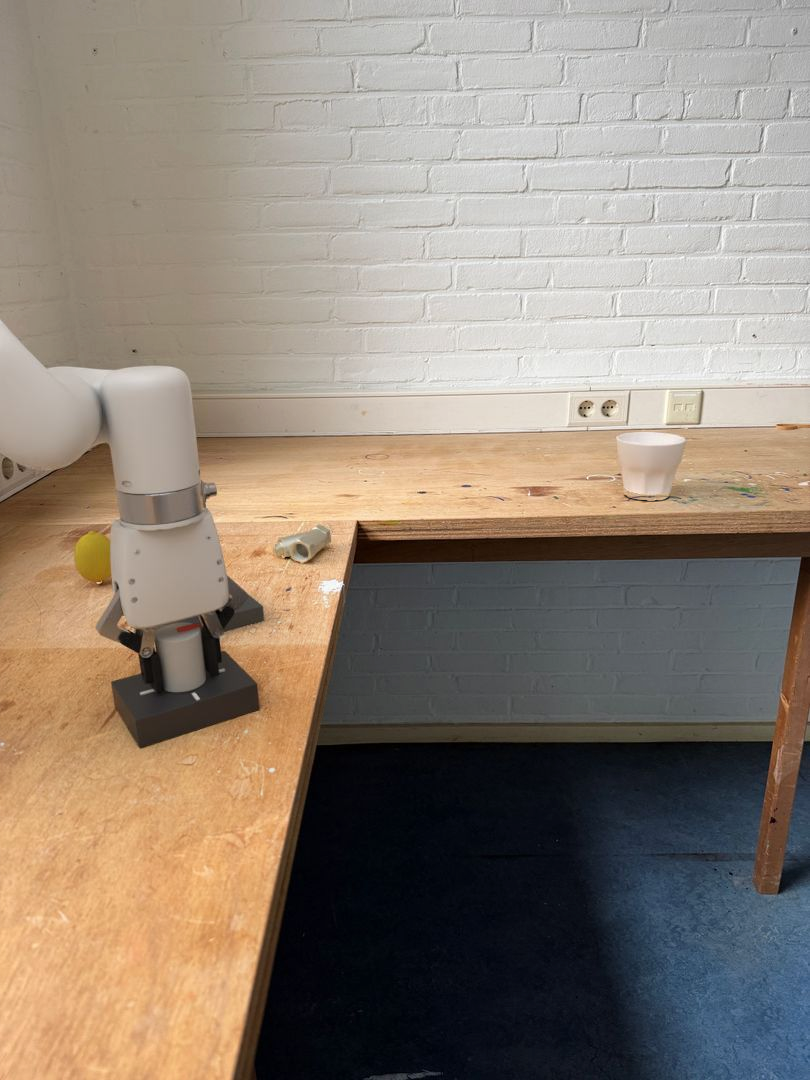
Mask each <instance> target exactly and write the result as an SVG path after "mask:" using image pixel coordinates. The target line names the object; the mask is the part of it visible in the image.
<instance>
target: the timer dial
mask: <svg viewBox="0 0 810 1080" xmlns="http://www.w3.org/2000/svg"><path fill="white" fill-rule="evenodd" d="M154 648H155V651H156V652H157V654H158V655H159V657H160V662H161V670H162V677H163V684H164V690H166V691H168V692H176V693H177V692H186V691H191V690H194V689H196V688H198V687H200V686H201V685H203V684H204V682H205V681H206V673H205V664H204V655H203V646H202V638H201V629H200V626H199V624H198V623H194V624H193V623H175V624H170V625H167V626H164V627H162V628H160V629H158V630H157V631H156V637H155V643H154Z"/></svg>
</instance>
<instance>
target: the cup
mask: <svg viewBox="0 0 810 1080" xmlns="http://www.w3.org/2000/svg"><path fill="white" fill-rule="evenodd" d="M615 438H616V449H617V460H618V461H619V463H620V469H621V477H622V486H623V489H624V488H625V489H626V490H627V491H629V492H633V493H638V494H644V495H645V494H646V495H650V494H651V495H654V494H655V495H656V494H664V493H667V492H669V491H670V492H672V491H671V490H672V487H673V484H674V480H675V476H676V474H677V469H678V468H679V466H680V465H681V463H682V460H683V456H684V452H685V447H686V443H687V440H686V439H685V437H684V436H681V435H678V434H674V433H667V432H657V431H633V432H625V433H620V434H619V435H617V436H615Z"/></svg>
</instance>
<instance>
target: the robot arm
mask: <svg viewBox="0 0 810 1080" xmlns="http://www.w3.org/2000/svg"><path fill="white" fill-rule="evenodd" d="M191 387H192V386H191V382H190V380H189V377H188V375H187V374H186V373H185V371H184V370H182V369H181V368H178V367H174V366H169V365H140V366H130V367H123V368H117V369H101V368H100V369H99V368H89V367H81V366H80V367H79V366H62V365H61V366H52V367H48V368H46V366H44V364H43V363H42V362H41V361H39V360H38V358H36V357H35V356H34V355H33V353H32V352H31V351H29V350H28V348H27V347H26V346H25V345H24V344H23V343H22V342H21V341H20V340H19V339H18V338H17V336H16V335H15V334H14V333H13V332H12V331H11V330H10V329H9V327H8V326H7V325H6V324H5V323H4V321H3V320H2V319H1V318H0V454H2V455H3V456H4V457H6V458H8V460H10V461H12V462H14V463H16V464H18V465H20V466H22V467H25V468H28V469H30V470H31V469H32V470H37V471H54V470H60V469H62V468H66V467H67V466H70V465H72V464H73V463H74V462H77V460H79V459H80V458H81V457H82V456H83V455H84V454H85V453H86V452H87V451H88V450H89V449H91V448H94V447H96V446H97V445H101V444H108V445H109V449H110V457H111V463H112V470H113V476H114V483H115V484H114V485H115V491H116V492H115V493H116V498H117V507H118V513H119V518H117V519H115V520H113V521H112V522H111V526H110V538H109V539H110V558H111V587H112V598H111V600H110V601H109V603H108V605H107V606H106V608H105V610H104V612H103V613H102V615H101V617H100V618H99V620H98V621H97V623H96V625H95V630H96V631H97V633H98V634H99V636H101V637H103V638H106V639H107V640H108V639H109V640H111V641H113V642H117V643H119V644H121V645H122V646H124V647H126V648H127V649H130V650H131V651H132V652H134V653H137V654H138V662H139V669H140V673H141V676H142V679H143V682H144V683H145V684H150V685H151V687H152V688H153V689H154V691H155V692H156V693H161V692H162V691H163V690H164V684H163V677H162V670H161V662H160V657H159V655H158V654H157V652H156V647H155V637H156V631H157V626H160V625H164V624H168V623H172V622H176V621H180V620H183V619H187V618H191V617H195V616H198V617H199V619H200V621H201V624H202V626H203V627H202V630H201V638H202V646H203V655H204V664H205V669H206V671H207V672H208V673H209V674H210V675H211V676H217V675H219V666H218V663H221V662H222V655H221V651H222V647H221V638H222V637H223V635H224V633H225V632H224V631H223V629H224V628H225V627H226V625H227V624H228V622H229V621H230V620H231V618H232V617H233V615H234V612H235V611H236V610H238V608H239V607H240V606H241V605H242V604H243V603H244V602H245V601H246V600H247V598H248V595H249V594H248V592H247V591H246V590H245V589H244V588H242V587H241V586H240V585H239V584H238V583H236V581H234V580H233V578H231V577H230V576H229V575H228V574H227V569H226V562H225V557H224V554H223V549H222V548H223V547H222V545H221V544H222V543H221V541H220V537H219V533H218V529H217V527H216V524H215V520H214V517H213V514H212V512H211V510H210V509H208V508H207V500H208V499H210V498H212V497H216V496H218V489H217V488H218V487H217V485H216V484H215V482H204V480H202V477H201V468H200V460H199V451H198V441H197V440H198V439H197V432H196V423H195V421H196V420H195V413H194V412H195V411H194V405H193V393H192V388H191ZM122 617H125V621H126V622H125V623H126V624H127V626H128V627H129V628H131V629H133V631H131V630H130V629H128V628H126V627H121V626H120V625H119V622H120V621H121V618H122Z"/></svg>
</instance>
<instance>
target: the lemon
mask: <svg viewBox="0 0 810 1080" xmlns="http://www.w3.org/2000/svg"><path fill="white" fill-rule="evenodd" d="M73 558H74V559H73V560H74V565H75V568H76V570H77V572H78V573H79V575H80V576H81V578H83V579H85V580H86V581H89V582H93V583H95V582H101V581H104V582H105V580H108V579H109V578H110V577H112V575H111V558H110V538H109V537H107V536H106V535H105V534H102V533H100V532H96V531H95V530H89V531H88V533H86V534H84V535H83V536H81V537H80V538H79V539H78V540H77V542H76V544H75V547H74V554H73Z"/></svg>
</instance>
